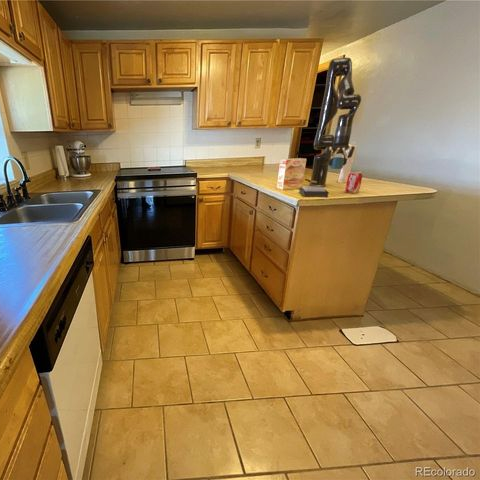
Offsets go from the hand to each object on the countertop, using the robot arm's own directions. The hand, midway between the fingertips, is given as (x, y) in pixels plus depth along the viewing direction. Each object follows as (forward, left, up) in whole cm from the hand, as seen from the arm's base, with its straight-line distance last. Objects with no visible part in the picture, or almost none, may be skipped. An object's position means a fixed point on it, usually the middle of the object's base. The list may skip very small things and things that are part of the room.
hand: (336, 165), depth 155 cm
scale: (+4, -11, -17) cm, 20 cm away
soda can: (-4, +12, -17) cm, 21 cm away
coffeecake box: (-16, -21, -17) cm, 31 cm away
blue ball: (0, 0, -2) cm, 2 cm away
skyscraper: (-42, +19, -17) cm, 49 cm away
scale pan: (+4, -11, -14) cm, 18 cm away
